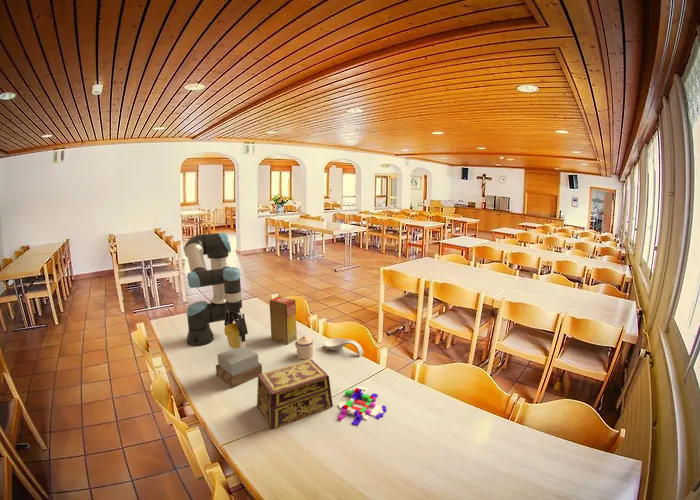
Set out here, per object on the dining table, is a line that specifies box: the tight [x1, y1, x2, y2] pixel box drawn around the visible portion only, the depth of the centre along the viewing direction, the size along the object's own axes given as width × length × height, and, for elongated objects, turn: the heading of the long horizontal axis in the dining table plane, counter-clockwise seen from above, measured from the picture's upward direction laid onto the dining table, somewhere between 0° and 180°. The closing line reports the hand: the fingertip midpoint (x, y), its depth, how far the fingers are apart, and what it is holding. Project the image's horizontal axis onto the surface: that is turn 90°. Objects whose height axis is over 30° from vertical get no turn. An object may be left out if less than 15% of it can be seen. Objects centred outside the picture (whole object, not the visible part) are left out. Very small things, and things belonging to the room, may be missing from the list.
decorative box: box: [256, 358, 334, 430], centre depth 158 cm, size 28×19×15 cm
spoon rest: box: [323, 337, 364, 358], centre depth 208 cm, size 24×12×7 cm, turn 61°
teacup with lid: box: [294, 335, 314, 361], centre depth 202 cm, size 12×9×12 cm
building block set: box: [337, 385, 388, 427], centre depth 158 cm, size 25×20×4 cm
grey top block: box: [217, 346, 260, 376], centre depth 182 cm, size 14×14×6 cm
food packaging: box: [269, 295, 298, 345], centre depth 220 cm, size 13×9×25 cm
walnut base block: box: [215, 362, 263, 389], centre depth 183 cm, size 16×16×6 cm
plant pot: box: [224, 322, 248, 349], centre depth 179 cm, size 10×10×10 cm
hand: (236, 343), depth 179 cm, fingers closed on plant pot, 10 cm apart
